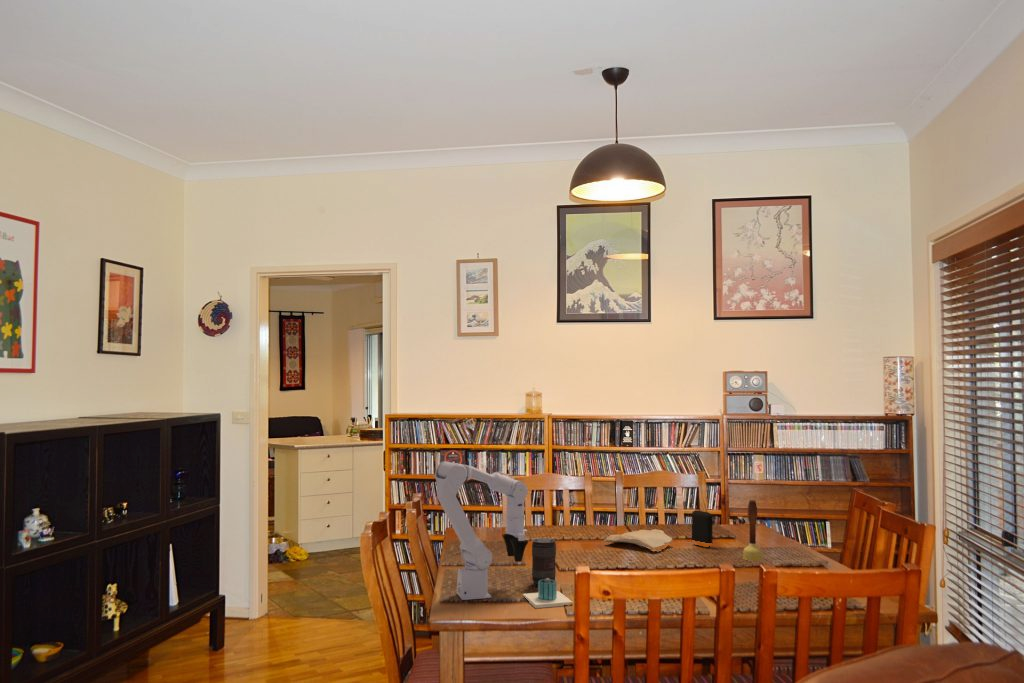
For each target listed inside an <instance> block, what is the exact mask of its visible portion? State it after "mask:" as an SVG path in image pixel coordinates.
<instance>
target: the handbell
mask: <svg viewBox="0 0 1024 683" xmlns="http://www.w3.org/2000/svg"><path fill="white" fill-rule="evenodd" d="M747 520H748V524H749V544H748V545H747V546H746V547H744V548H743V550H742V553H743V554H742V556H743V557H742V559H745V560H749V561H760V560H763V552H762V549H761V548H760V547H758V545H757V544H756V543H757V542H756V540H757V539H756V536H757V535H756V530H757V528H756V527H757V526H756V524H757V520H758V506H757V501H756V500H754V499H749V501H748V507H747Z"/></svg>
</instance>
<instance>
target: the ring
mask: <svg viewBox="0 0 1024 683" xmlns="http://www.w3.org/2000/svg"><path fill="white" fill-rule="evenodd" d="M550 580H551V583H544V581H545V579H541V580H539V581H538V587H537V593H538V598H539V599H541V600H555V599H556V598H557V591H558V590H557V586H558V583H557V582H558V581H557V580H556V579H555V580H552V579H550Z"/></svg>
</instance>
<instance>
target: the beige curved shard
mask: <svg viewBox="0 0 1024 683" xmlns="http://www.w3.org/2000/svg"><path fill="white" fill-rule="evenodd" d="M603 542H604V543H630V544H635V545H638V546H640V547H642V546H644V547H650V548H657V547H660V546H662V545H665V544H666V543H670V542H672V543H673V542H674V541H673V537H671V536H669V535H668V534H666V533H665V531H664V530H661V529H656V528H654V529H650V530H649V529H638V530H635V531H629V532H624V533H622V534H611V535H609V536H606V537H605V539H603ZM644 547H643V548H644Z"/></svg>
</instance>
